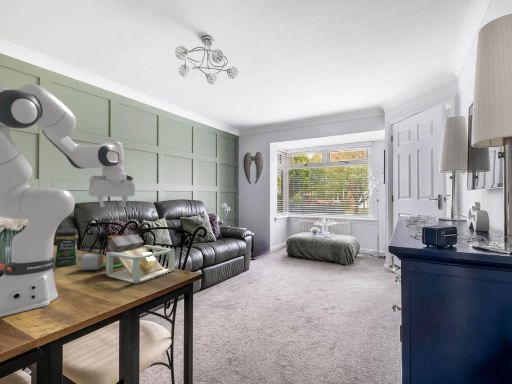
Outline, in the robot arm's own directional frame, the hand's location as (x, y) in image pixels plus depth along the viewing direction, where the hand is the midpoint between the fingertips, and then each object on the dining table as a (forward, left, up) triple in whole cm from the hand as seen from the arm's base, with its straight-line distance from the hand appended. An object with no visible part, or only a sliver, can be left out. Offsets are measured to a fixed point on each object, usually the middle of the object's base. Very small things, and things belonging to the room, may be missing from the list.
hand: (113, 206), depth 123 cm
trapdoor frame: (+8, -10, -31) cm, 34 cm away
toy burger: (+10, +14, -31) cm, 36 cm away
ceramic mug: (0, +17, -31) cm, 36 cm away
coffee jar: (-2, +37, -31) cm, 49 cm away
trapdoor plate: (+8, -4, -26) cm, 27 cm away
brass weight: (+8, -12, -28) cm, 31 cm away
